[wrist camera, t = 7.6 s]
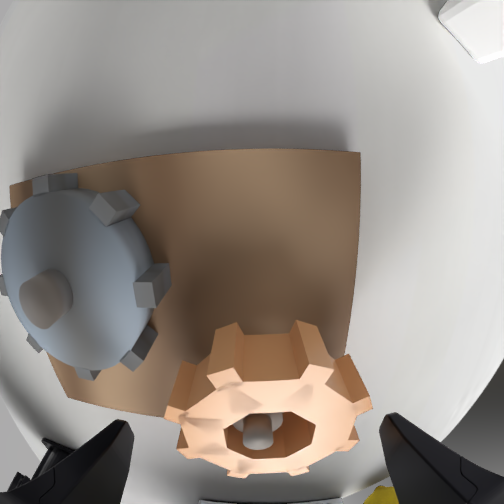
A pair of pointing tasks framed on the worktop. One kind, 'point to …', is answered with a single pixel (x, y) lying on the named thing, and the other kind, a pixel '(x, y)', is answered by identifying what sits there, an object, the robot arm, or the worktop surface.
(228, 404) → the gear
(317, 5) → the worktop surface
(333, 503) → the tea box
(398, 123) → the worktop surface
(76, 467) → the robot arm
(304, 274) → the gear board
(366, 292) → the worktop surface
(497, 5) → the pepper shaker
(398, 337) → the worktop surface
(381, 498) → the lemon
